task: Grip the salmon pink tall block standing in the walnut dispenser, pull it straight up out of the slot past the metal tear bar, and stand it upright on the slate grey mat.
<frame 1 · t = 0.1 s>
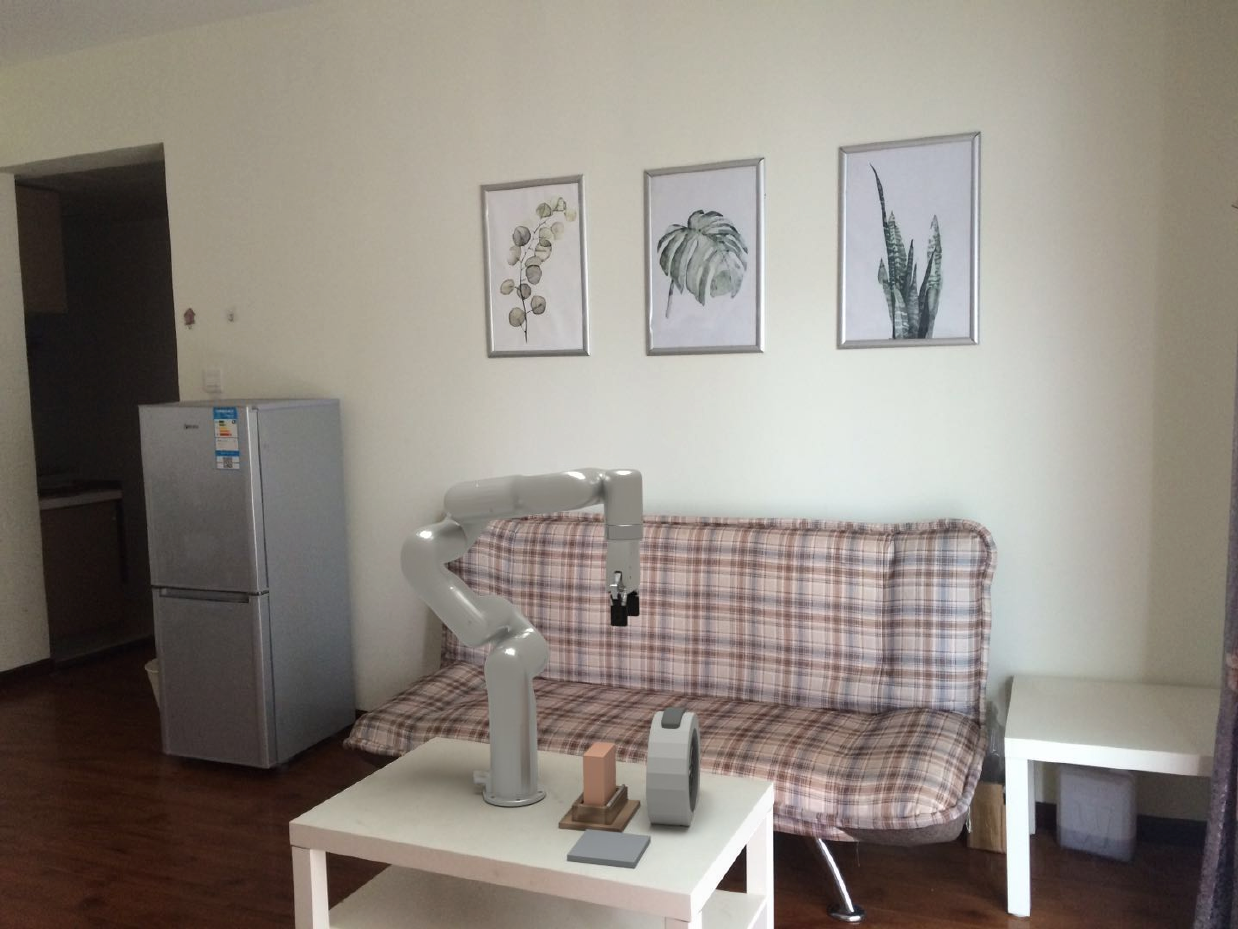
hand: (625, 621, 192), 37 cm above the table, tool pointing down, fingers open, 9 cm apart
mat: (609, 850, 174), on the table
salmon pink tall block: (600, 811, 189), point 1 cm above the table, touching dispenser
alarm clock: (675, 812, 191), on the table
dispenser: (600, 816, 189), on the table
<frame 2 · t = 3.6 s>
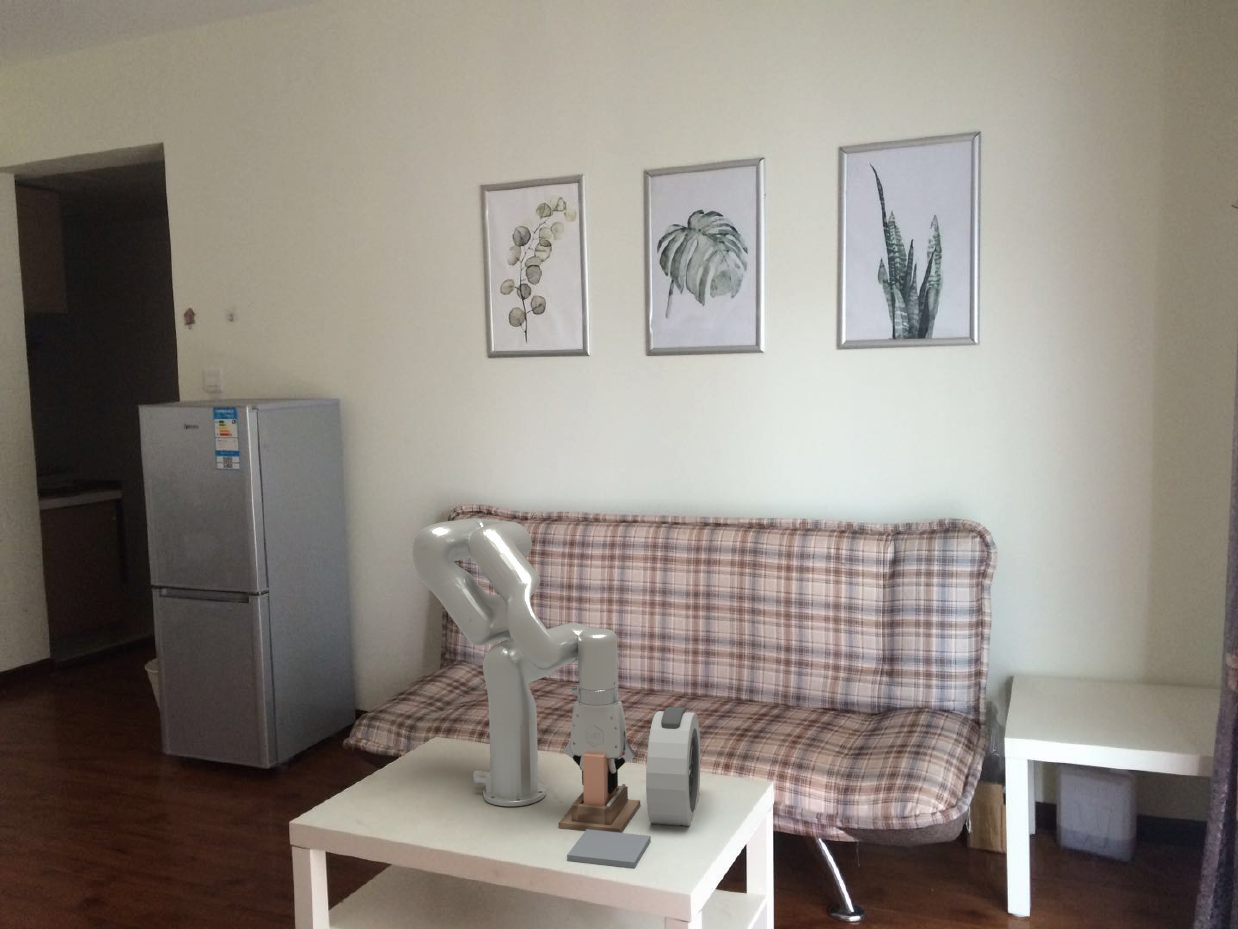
hand: (600, 789, 189), 5 cm above the table, tool pointing down, fingers closed on salmon pink tall block, 4 cm apart
salmon pink tall block: (600, 811, 189), point 1 cm above the table, touching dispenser, gripper
everything else where it was.
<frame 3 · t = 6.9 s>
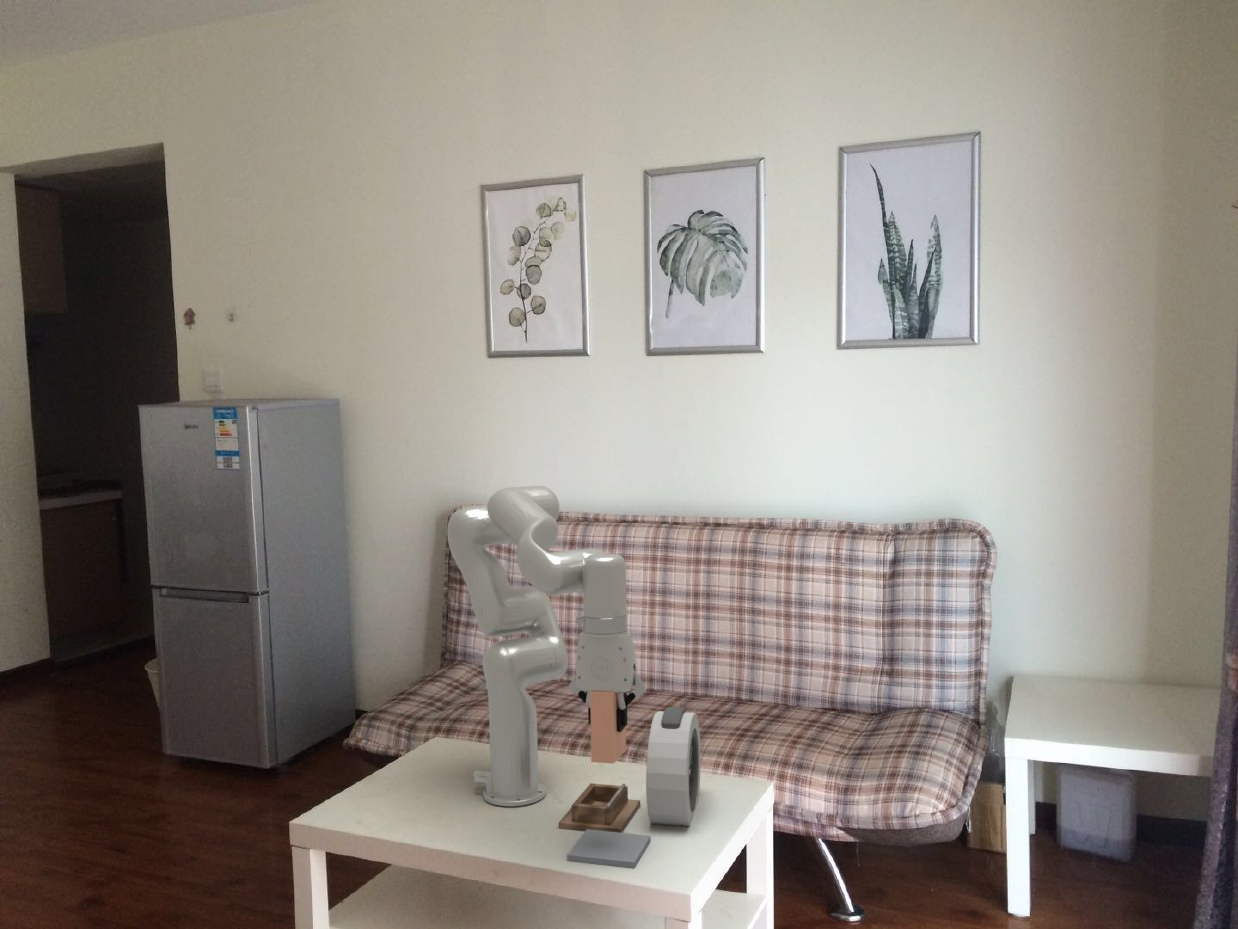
hand: (608, 728, 174), 22 cm above the table, tool pointing down, fingers closed on salmon pink tall block, 4 cm apart
salmon pink tall block: (609, 756, 174), point 17 cm above the table, touching gripper
everything else where it was.
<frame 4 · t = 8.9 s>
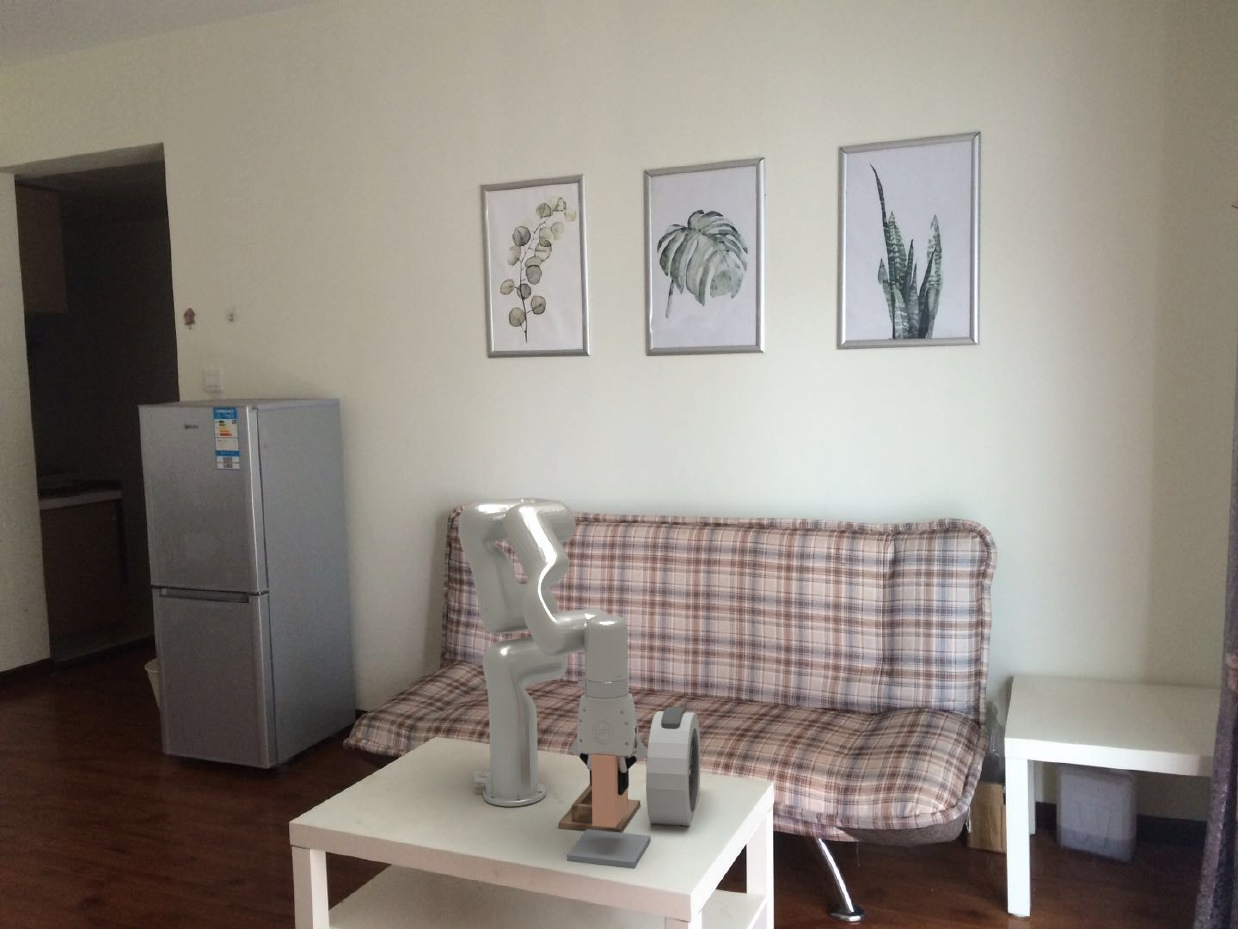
hand: (609, 790, 173), 11 cm above the table, tool pointing down, fingers closed on salmon pink tall block, 4 cm apart
salmon pink tall block: (610, 818, 174), point 6 cm above the table, touching gripper
everything else where it was.
when the fingers open (7 cm above the table, at t = 10.4 s): salmon pink tall block drops 1 cm, resting on mat.
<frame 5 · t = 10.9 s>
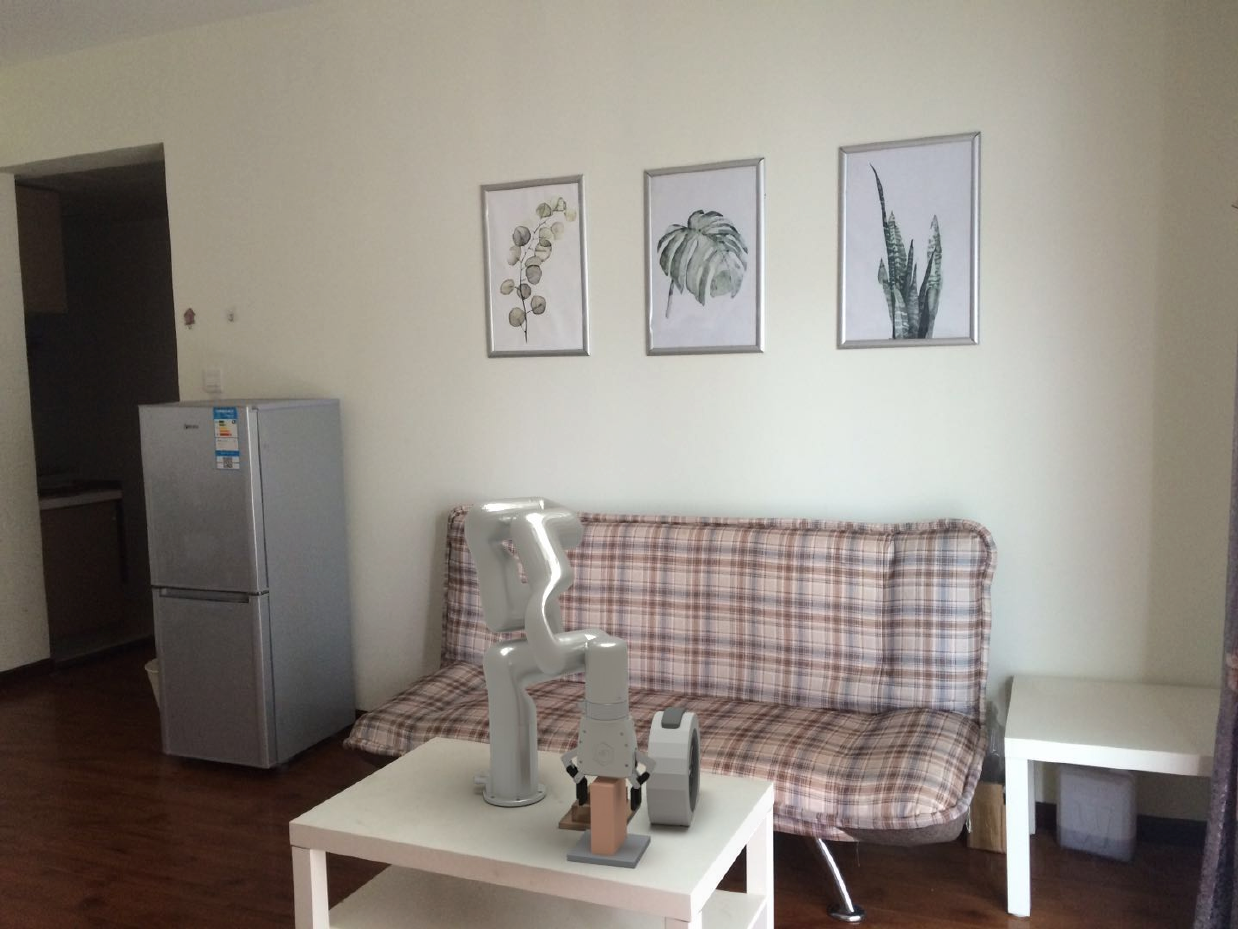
hand: (608, 805, 174), 8 cm above the table, tool pointing down, fingers open, 9 cm apart
salmon pink tall block: (609, 845, 174), point 1 cm above the table, touching mat
everything else where it was.
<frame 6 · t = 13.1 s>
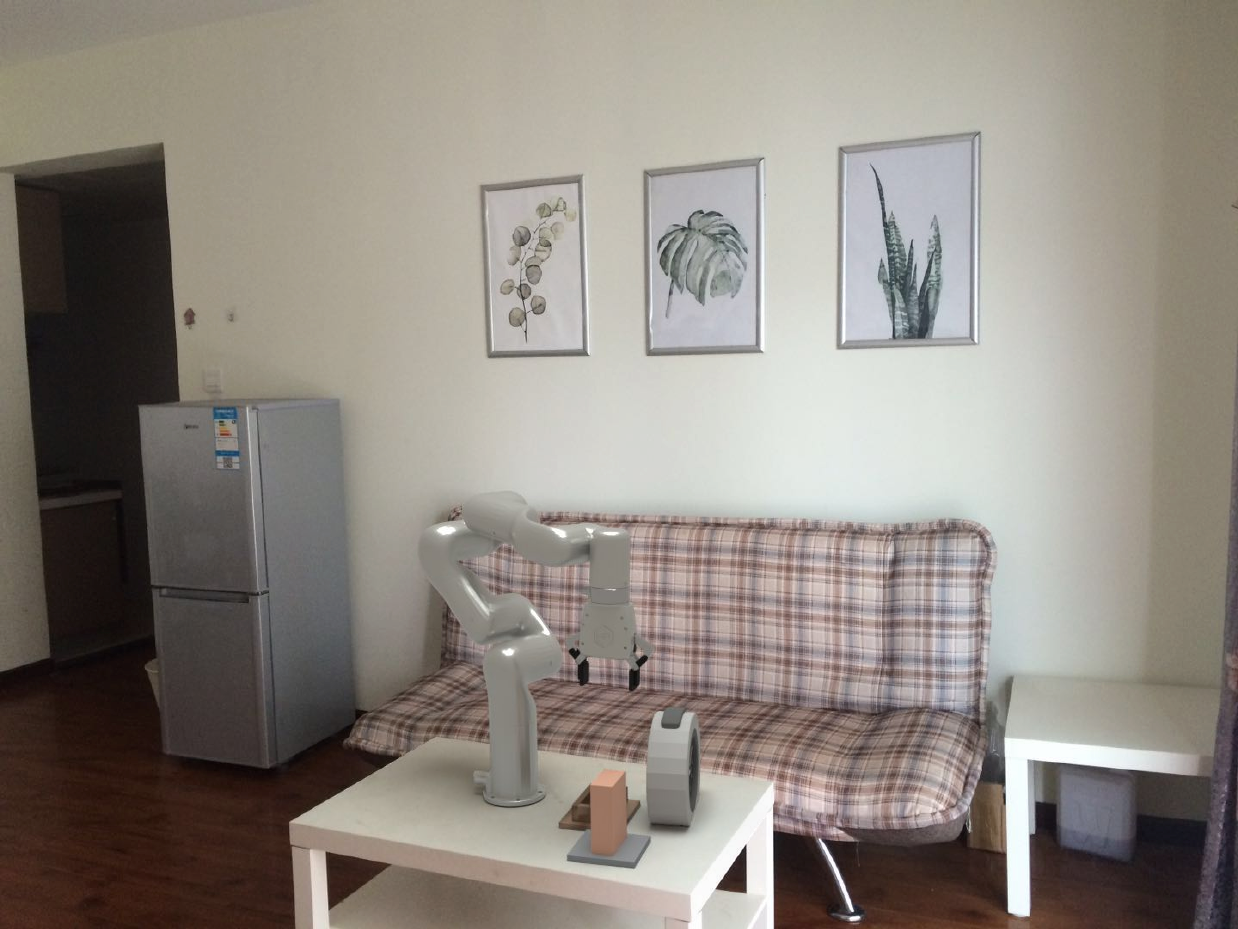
hand: (608, 686, 184), 26 cm above the table, tool pointing down, fingers open, 9 cm apart
nothing on the table moved.
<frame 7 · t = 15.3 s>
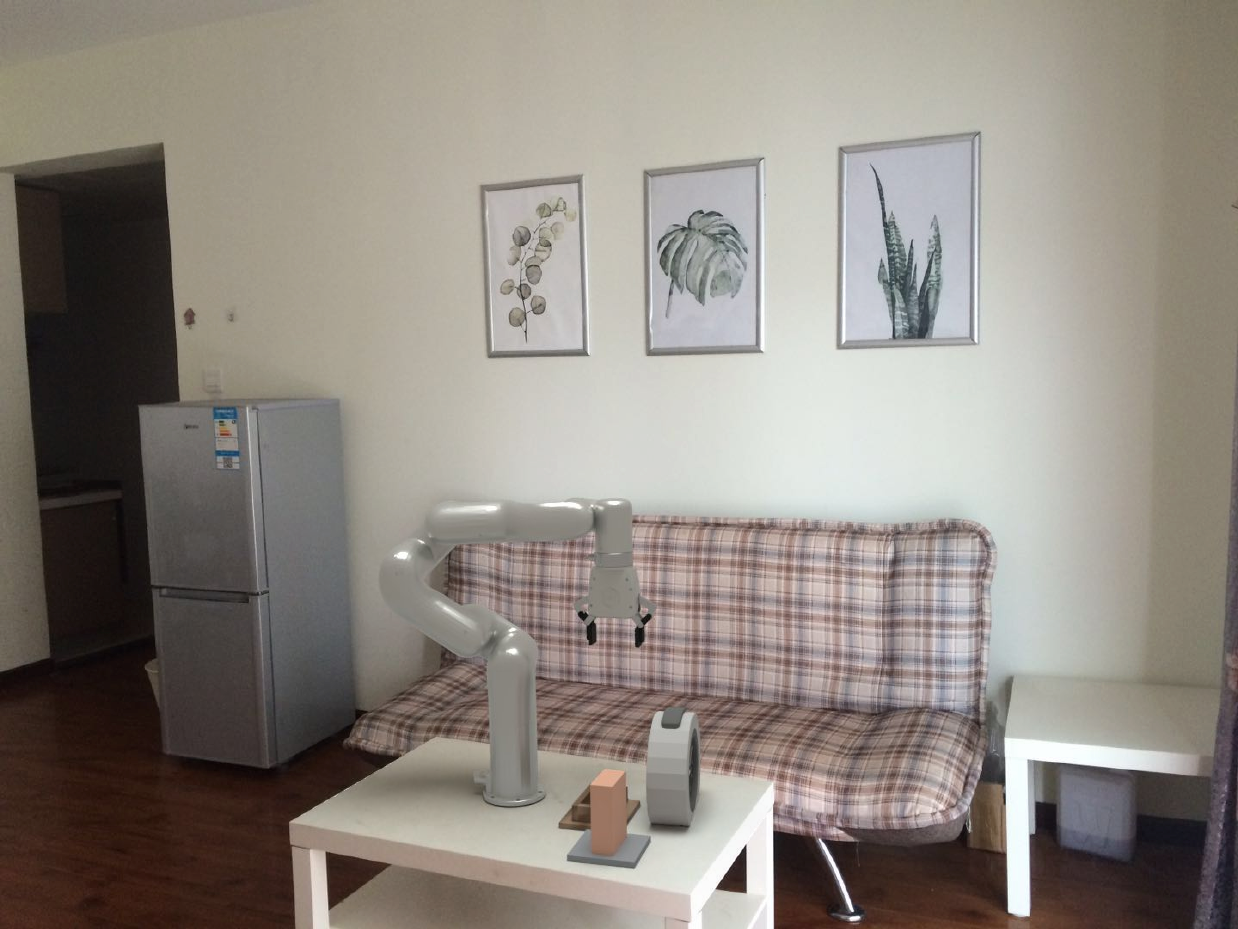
hand: (615, 645, 199), 30 cm above the table, tool pointing down, fingers open, 9 cm apart
nothing on the table moved.
at the end: salmon pink tall block inside the target area on the mat (0.0 cm from its centre), point 1.0 cm above the mat's base; salmon pink tall block tilted 0°; the gripper is holding nothing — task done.
